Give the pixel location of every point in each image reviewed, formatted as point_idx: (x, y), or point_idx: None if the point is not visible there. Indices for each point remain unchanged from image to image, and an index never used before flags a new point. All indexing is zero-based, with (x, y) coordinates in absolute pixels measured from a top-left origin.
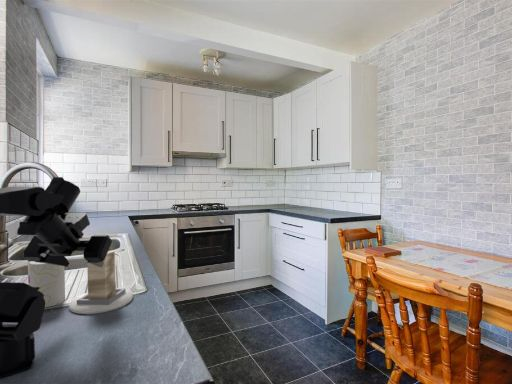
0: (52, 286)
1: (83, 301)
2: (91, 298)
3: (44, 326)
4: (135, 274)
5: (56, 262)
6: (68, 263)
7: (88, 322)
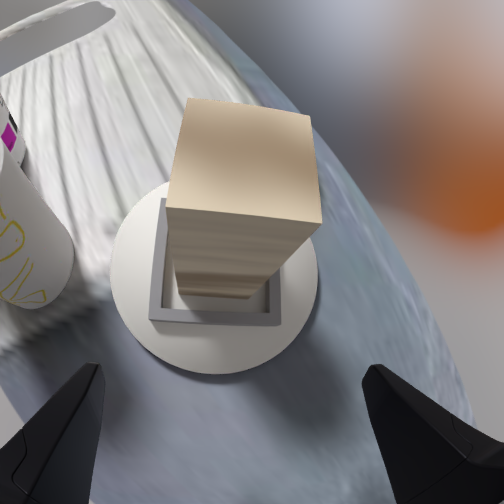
0: (29, 275)
1: (176, 321)
2: (191, 292)
3: (138, 451)
4: (212, 68)
5: (84, 496)
6: (99, 373)
7: (262, 426)
